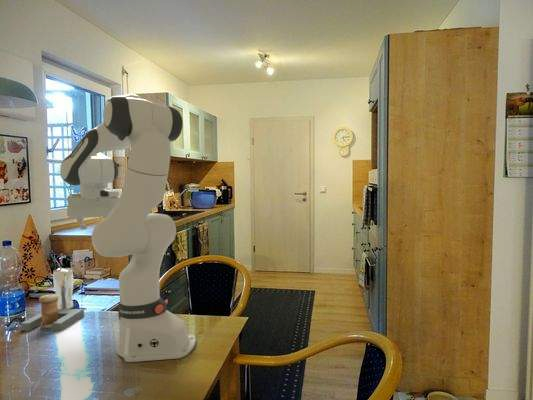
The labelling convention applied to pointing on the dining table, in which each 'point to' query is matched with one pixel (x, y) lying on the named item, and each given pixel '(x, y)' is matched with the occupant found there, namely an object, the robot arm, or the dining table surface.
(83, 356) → the dining table surface
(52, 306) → the cord reel
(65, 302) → the beer glass
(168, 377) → the dining table surface
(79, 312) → the grey flat piece
